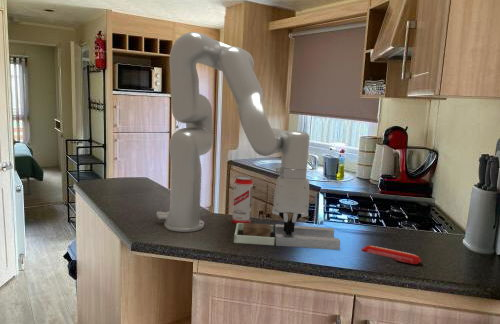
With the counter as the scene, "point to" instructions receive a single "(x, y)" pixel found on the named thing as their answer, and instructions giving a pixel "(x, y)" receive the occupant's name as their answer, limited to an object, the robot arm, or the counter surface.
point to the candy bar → (393, 254)
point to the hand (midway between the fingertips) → (288, 234)
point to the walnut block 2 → (263, 230)
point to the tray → (252, 237)
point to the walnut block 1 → (250, 229)
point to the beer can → (242, 200)
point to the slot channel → (307, 237)
